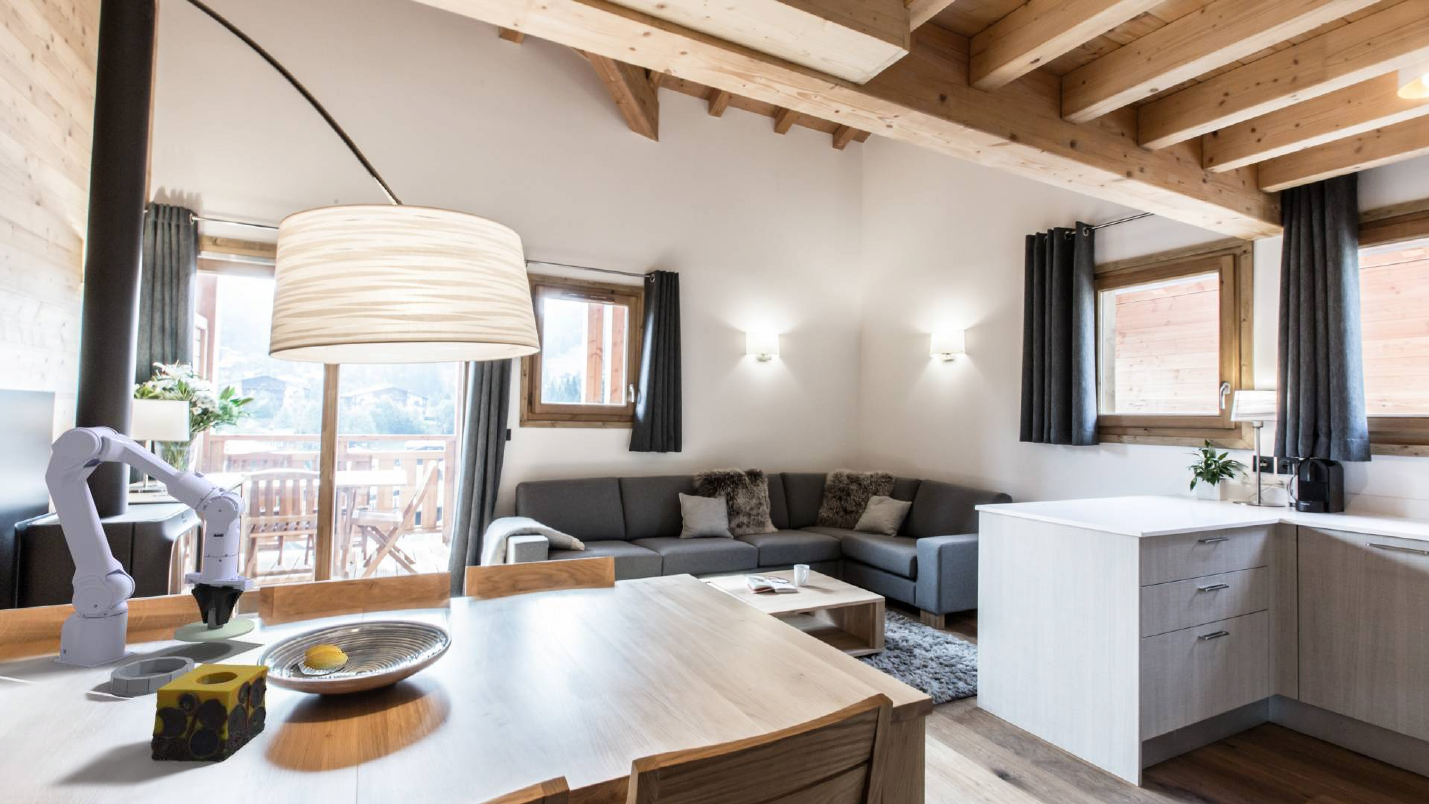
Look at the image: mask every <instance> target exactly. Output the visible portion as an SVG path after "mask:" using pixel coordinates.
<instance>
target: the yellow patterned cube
mask: <svg viewBox="0 0 1429 804" xmlns="http://www.w3.org/2000/svg"><path fill="white" fill-rule="evenodd" d="M268 672H269V666H268V665H266V664H265V665H259V664H258V665H257V664H256V665H254V664H253V665H251V664H250V665H249V664H226V663H225V664H224V663H214V664H204V663H201V664H200V665H199V666H197V667H194V669H193V670H191V671H189V672H188V673H186V674H184V675H183V676H181V677H179V678H177V679H175V680H173V681H172V682H170V683H168V684H166V685H164V686H163V687H161V688H159V689H158V690H157V693H156V705H155V707H156V711H155V716H154V725H153V731H152V735H151V736H152V739H151V742H150V747H151V751H152V752H151V760H153V761H174V762H175V761H176V762H177V761H178V762H206V761H208V762H224V761H225V760H227V759H229V758H230V757H231V756H233V755H234V754H236V753H237V751H239V750H240V749H242V748H243V747H244V746H245V745H247V744H248V743H249V742H251V741H252V740H253V739H254V738H255V737H257V736H258V735H259V734H260V733H262V732H263V731H264V730H265V729H266V728H265V727H266V722H265V721H266V717H267V709H266V692H267V690H268V688H267V676H268Z"/></svg>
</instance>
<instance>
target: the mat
mask: <svg viewBox="0 0 1429 804" xmlns="http://www.w3.org/2000/svg"><path fill="white" fill-rule="evenodd" d="M263 646H266V644H265V643H262V644H261V643H257V642H249V641H242V640H241V641H240V640H234V639H225V640H218V641H209V642H199V643H198V644H197V643H196V644H194V645H191V646H188V647H187V646H186V647H185V648H181V649H179V650H175V651H172V652H169V653H166V654H164V655H160V656H159V657H174V656H177V657H178V656H179V657H186V658H191V659H192V660H193V661H194V662H195V663H199V664H217V663H219V662H222V661H224V660H227V659H230V658H232V657H235V656H237V655H240V654H243V653H247V652H249V651H252V650H254V649H257V648H260V647H261V648H262V647H263ZM159 657H158V658H159Z"/></svg>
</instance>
